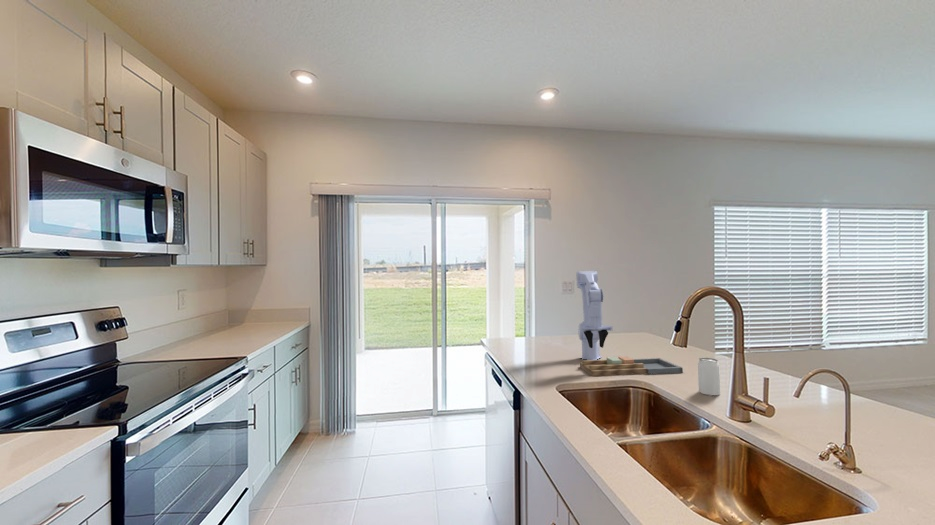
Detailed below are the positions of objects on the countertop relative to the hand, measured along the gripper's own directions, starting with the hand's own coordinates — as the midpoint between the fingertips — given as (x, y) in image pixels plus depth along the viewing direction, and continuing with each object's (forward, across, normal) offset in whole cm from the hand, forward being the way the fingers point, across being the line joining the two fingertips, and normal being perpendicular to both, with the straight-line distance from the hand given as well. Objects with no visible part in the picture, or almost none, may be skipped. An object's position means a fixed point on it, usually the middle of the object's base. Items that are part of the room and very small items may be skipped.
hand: (596, 347), depth 161 cm
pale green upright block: (+8, +8, 0) cm, 12 cm away
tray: (+10, +27, 0) cm, 29 cm away
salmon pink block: (+8, +14, 0) cm, 16 cm away
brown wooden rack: (+10, +7, 0) cm, 13 cm away
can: (+11, +27, -32) cm, 44 cm away
